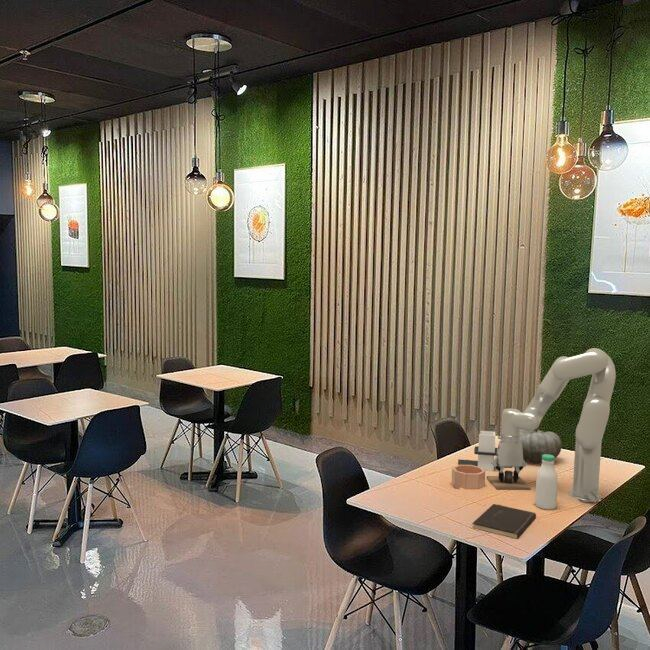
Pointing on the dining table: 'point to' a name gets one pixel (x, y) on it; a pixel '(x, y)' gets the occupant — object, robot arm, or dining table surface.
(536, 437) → the gourd
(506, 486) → the walnut lid
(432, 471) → the dining table surface
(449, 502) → the dining table surface
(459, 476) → the terracotta bowl
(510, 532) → the hardcover book
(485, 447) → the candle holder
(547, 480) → the milk bottle
